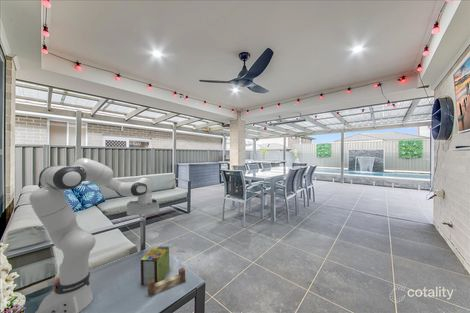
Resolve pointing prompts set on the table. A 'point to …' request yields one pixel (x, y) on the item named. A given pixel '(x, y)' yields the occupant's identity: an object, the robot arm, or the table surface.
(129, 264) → the table surface
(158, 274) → the protein box
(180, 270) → the beam
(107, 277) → the table surface
